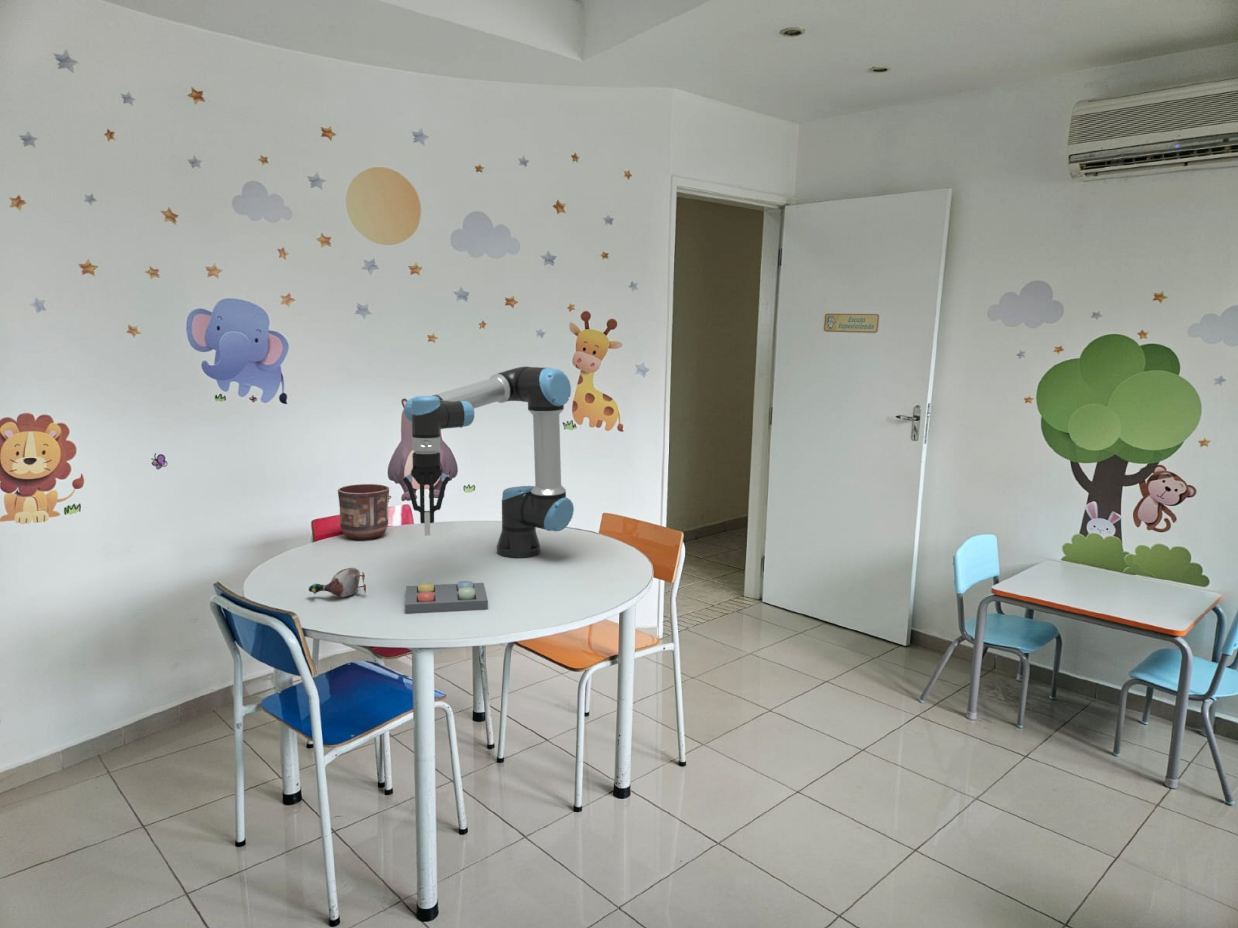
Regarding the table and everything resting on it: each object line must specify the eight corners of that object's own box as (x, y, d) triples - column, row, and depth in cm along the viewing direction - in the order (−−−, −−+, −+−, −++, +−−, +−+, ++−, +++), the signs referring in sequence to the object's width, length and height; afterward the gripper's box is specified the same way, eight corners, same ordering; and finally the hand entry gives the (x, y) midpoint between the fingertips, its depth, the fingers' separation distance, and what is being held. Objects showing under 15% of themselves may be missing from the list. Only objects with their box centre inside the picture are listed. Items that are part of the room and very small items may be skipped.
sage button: (474, 597, 221) (474, 586, 220) (475, 603, 216) (475, 591, 216) (458, 598, 219) (458, 587, 219) (459, 603, 215) (459, 592, 215)
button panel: (483, 590, 231) (483, 582, 231) (487, 609, 216) (487, 600, 215) (406, 594, 226) (406, 585, 225) (405, 613, 210) (405, 604, 210)
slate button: (472, 591, 228) (472, 580, 228) (473, 596, 224) (473, 585, 224) (457, 592, 227) (457, 581, 227) (457, 597, 223) (457, 585, 222)
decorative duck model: (303, 581, 215) (316, 563, 229) (307, 606, 216) (320, 587, 231) (359, 575, 216) (369, 558, 231) (363, 601, 218) (372, 582, 233)
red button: (434, 602, 218) (434, 591, 217) (434, 607, 214) (434, 596, 213) (417, 603, 217) (417, 591, 216) (417, 608, 213) (417, 597, 212)
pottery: (381, 543, 278) (380, 494, 275) (332, 541, 278) (330, 492, 275) (395, 531, 295) (395, 484, 293) (349, 529, 296) (348, 483, 293)
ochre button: (433, 593, 226) (433, 582, 225) (434, 598, 221) (433, 586, 221) (418, 593, 225) (418, 582, 224) (418, 598, 220) (417, 587, 220)
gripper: (401, 454, 212) (403, 538, 216) (450, 453, 215) (451, 536, 219) (402, 450, 219) (403, 531, 223) (449, 449, 222) (450, 530, 226)
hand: (427, 534), depth 221 cm, fingers closed
